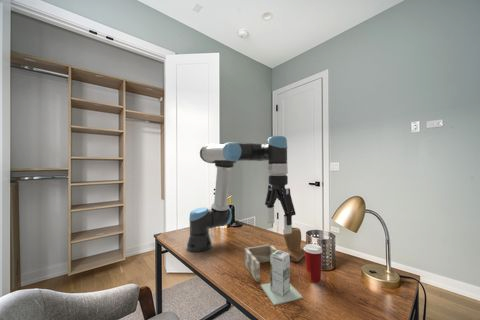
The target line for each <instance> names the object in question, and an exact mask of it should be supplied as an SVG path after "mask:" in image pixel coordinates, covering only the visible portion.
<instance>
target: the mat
mask: <svg viewBox="0 0 480 320" xmlns="http://www.w3.org/2000/svg"><path fill="white" fill-rule="evenodd" d="M260 288H261V289H262V290H263V292H264V293H265V295H266V296H267V297H268V299H269V300H270V302H271V303H272V304H273V306H277V305H280V304H285V303H288V302H292V301H296V300H300V299H303V295H302V294H301V293H300V292H298V290H297V289H296V288H295V287H294V286H293V285H292V284H291V283H290V290H289V291H288V292H287V293H286V294H285V295H284V296H281V295H279V294H277V293H275V292H273V291H271V290H270V282H268V283H262V284H260Z"/></svg>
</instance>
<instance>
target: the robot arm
mask: <svg viewBox="0 0 480 320" xmlns="http://www.w3.org/2000/svg"><path fill="white" fill-rule="evenodd" d="M199 156H200V158H201V160H202V161H204V162H205V163H207V164H214V166H215V167H216V176H215V188H214V199H213V203H212V204H211V207H210V208H211V209H209V207H198V208H195V209H193V210H192V209H191V211H190V213H189V236H188V241H187V243H186V249H187V250H188V251H189V252H192V253H199V252H200V253H201V252H205V251H208V250H210V249H211V248H212V246H213V245H212V244H213V243H212V242H213V241H212V238H211V237H210V230H209V229H213V228H218V227H224V226H228V225H229V224H230V223H231V221H232V219H233V214H232V212H233V211H232V209H231V208H230V206H229V205H228V204H229V203H228V200H229V191H230V190H229V189H230V179H231V170H232V169H233V168H234V164H236V163H238V161H239V162H240V161H241V162H243V161H247V162H248V161H249V162H253V161H254V162H263V161H268V167H267V169H268V174H269V175H268V184H269V185H267V192H266V197H265V201H264V205H265V206H266V208H267V224H275V203H276V201H277V200H278V201H279V202H280V204H281V207H282V210H283V213H284V214H283V230H284V232H283V235H284V234H290V233H292V225H293V220H292V217H293V216H296V211H295V206H294V202H293V198H292V196H291V188H289V187H288V188H286V186H287V185H288V183H289V182H288V181H289V180H288V175H287V174H288V173H289V172H288V140H287V137H286V136H284V135H283V136H282V135H273V136H270V137H268V138H267V142H266V143H251V142H250V143H248V142H247V143H246V142H236V141H231V142H228V141H227V142H226V143H224V144H221V143H219V144H217V143H216V144H215V143H209V144H205V145H202V147H201V148H200V150H199Z"/></svg>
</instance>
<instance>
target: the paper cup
mask: <svg viewBox="0 0 480 320" xmlns="http://www.w3.org/2000/svg"><path fill="white" fill-rule="evenodd" d="M303 250H305V255H304V260H305V268H306V269H305V270H306V279H307V280H308V281H309V282H311V283H315V284H317V283H320V282H321V279H322V260H323V259H322V258H323V257H322V256H323V255H322V254H323V249H322V247H321V246H320V245H319V244H315V243H307V244H305V245H304V247H303Z"/></svg>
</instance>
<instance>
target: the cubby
mask: <svg viewBox="0 0 480 320" xmlns="http://www.w3.org/2000/svg"><path fill="white" fill-rule="evenodd" d="M277 250H278V249H277V248H276V247H274V245H272V244H263V245H258V246H251V247H244V249H243V256H244V257H243V259H244V260H243V261H244V262H243V264H244V266H245V267H246V269H247V270H248V272H249V273H250V275H251V276H252V278H253V279H254V281H255V282H256V283H259V282H260V281H261V275H260V273H261V272H260V271H261V269H260V268H261V265H260V264H261V263H267V262H270V255H271V254H272V253H274V252H275V251H277Z"/></svg>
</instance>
